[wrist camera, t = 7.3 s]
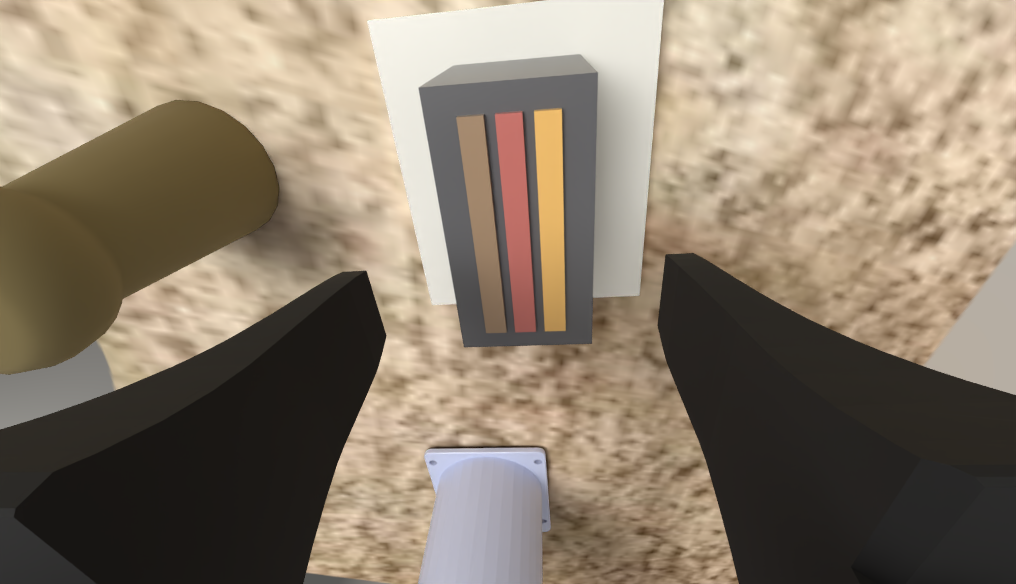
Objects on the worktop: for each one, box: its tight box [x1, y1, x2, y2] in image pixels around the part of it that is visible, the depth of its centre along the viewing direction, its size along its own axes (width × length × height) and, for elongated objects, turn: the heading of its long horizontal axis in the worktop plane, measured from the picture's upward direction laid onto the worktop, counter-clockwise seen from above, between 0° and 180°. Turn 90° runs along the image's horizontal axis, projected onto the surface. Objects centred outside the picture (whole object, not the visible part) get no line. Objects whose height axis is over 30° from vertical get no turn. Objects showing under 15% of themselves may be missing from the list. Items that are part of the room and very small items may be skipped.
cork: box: [0, 100, 279, 375], centre depth 15 cm, size 6×6×11 cm
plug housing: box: [418, 54, 598, 347], centre depth 15 cm, size 8×4×6 cm, turn 5°
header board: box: [367, 0, 664, 305], centre depth 17 cm, size 12×10×4 cm
